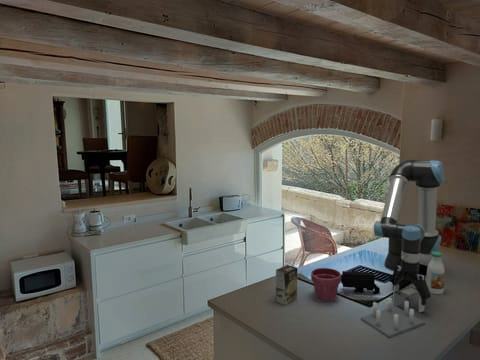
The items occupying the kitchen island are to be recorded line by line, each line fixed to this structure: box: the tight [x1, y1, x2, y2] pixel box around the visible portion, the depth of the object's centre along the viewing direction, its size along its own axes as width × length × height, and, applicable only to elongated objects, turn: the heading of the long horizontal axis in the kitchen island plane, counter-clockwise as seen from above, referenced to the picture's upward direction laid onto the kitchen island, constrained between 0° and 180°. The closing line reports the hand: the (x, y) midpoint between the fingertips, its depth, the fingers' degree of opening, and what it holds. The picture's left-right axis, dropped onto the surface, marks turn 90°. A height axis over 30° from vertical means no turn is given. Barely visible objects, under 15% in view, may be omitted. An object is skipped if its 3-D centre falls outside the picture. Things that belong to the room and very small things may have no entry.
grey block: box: [392, 286, 421, 312], centre depth 159 cm, size 12×6×7 cm, turn 115°
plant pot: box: [310, 267, 342, 303], centre depth 168 cm, size 14×14×13 cm
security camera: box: [340, 270, 381, 295], centre depth 173 cm, size 7×18×10 cm, turn 78°
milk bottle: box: [425, 251, 446, 295], centre depth 172 cm, size 8×8×20 cm
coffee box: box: [275, 264, 298, 306], centre depth 167 cm, size 9×6×16 cm
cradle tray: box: [360, 297, 426, 339], centre depth 147 cm, size 21×15×7 cm
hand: (408, 304), depth 159 cm, fingers open, 13 cm apart
